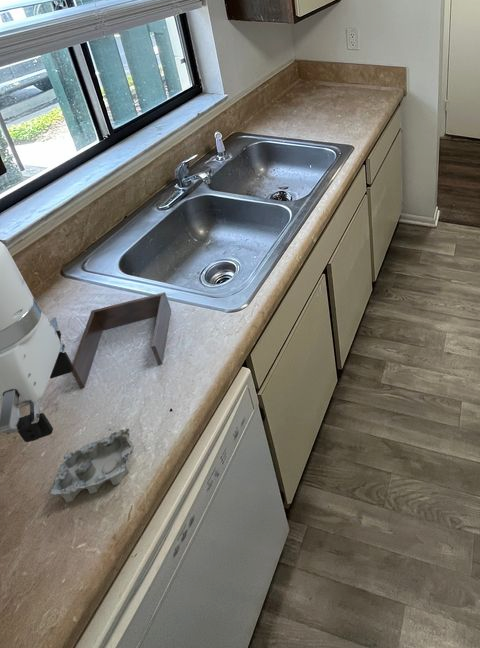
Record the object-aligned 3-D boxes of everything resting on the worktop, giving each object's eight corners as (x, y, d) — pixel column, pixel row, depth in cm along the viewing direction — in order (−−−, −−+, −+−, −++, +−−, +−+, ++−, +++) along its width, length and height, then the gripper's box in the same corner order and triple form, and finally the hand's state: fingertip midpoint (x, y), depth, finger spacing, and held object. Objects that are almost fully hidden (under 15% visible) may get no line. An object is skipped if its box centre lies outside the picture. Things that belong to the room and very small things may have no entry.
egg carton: (138, 438, 80) (132, 425, 79) (127, 485, 74) (120, 472, 72) (71, 457, 78) (63, 444, 76) (54, 508, 71) (45, 495, 69)
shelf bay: (80, 388, 89) (70, 369, 86) (99, 328, 102) (91, 310, 99) (162, 364, 93) (155, 345, 91) (171, 309, 106) (165, 291, 103)
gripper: (-2, 284, 64) (43, 360, 72) (-70, 396, 50) (-5, 477, 57) (58, 270, 67) (95, 345, 74) (10, 372, 52) (62, 453, 59)
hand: (51, 402), depth 65 cm, fingers open, 9 cm apart
